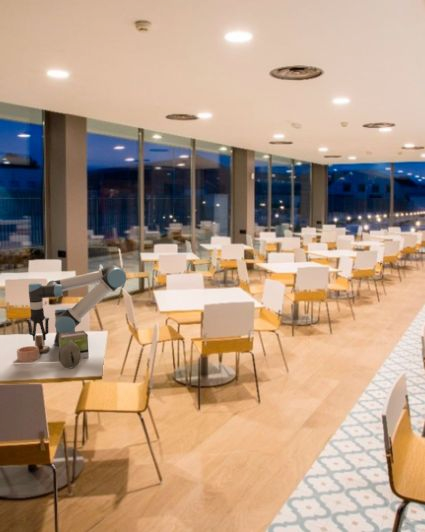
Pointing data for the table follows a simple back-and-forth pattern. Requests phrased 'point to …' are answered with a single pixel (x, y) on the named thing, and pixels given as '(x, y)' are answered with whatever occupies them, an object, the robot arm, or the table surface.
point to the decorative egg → (69, 354)
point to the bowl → (28, 353)
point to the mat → (45, 352)
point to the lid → (39, 344)
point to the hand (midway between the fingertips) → (40, 345)
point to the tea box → (76, 341)
